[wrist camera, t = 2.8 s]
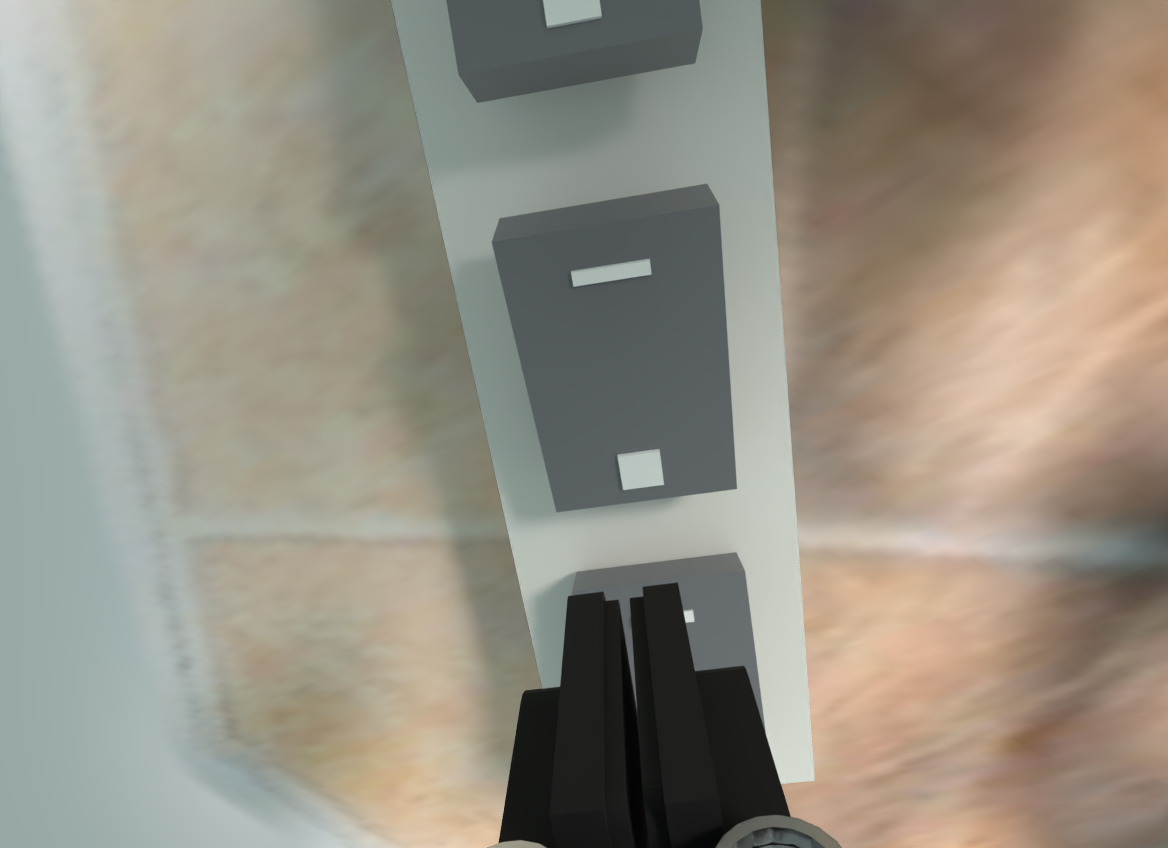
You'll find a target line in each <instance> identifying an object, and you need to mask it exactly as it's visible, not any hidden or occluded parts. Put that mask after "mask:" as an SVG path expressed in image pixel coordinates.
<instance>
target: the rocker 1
mask: <svg viewBox="0 0 1168 848" xmlns="http://www.w3.org/2000/svg"><path fill="white" fill-rule="evenodd" d="M446 1H447V7H448V13H449V20H450V26H451V32H452V38H453V45H454V51H455V57H456V63H457V70H458V75H459V76H460V78H461V79H462V81H463V82H464V84H465V85H466V87H467V88H468V90H469V91H470V93H471V94H472V96H473V97H474V99H475V100H476V102H477V103H480V102H486V101H491V100H497V99H502V98H508V97H513V96H519V95H524V94H530V93H535V92H541V91H546V90H552V89H557V88H563V87H568V86H574V85H579V84H585V83H590V82H596V81H601V80H607V79H612V78H618V77H623V76H629V75H634V74H640V73H645V72H651V71H656V70H662V69H667V68H673V67H678V66H684V65H689V64H695V62H696V58H697V53H698V49H699V44H700V40H701V35H702V30H703V27H702V19H701V10H700V2H699V0H446Z"/></svg>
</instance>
